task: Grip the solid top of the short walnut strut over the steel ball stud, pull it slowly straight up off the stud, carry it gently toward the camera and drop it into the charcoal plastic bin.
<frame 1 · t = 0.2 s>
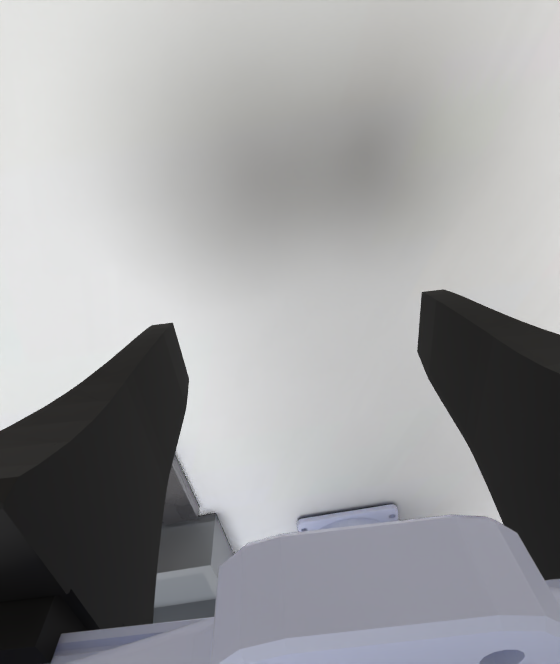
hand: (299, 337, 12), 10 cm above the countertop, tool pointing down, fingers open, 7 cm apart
stud plate: (111, 475, 29), on the countertop
charcoal bin: (166, 566, 35), on the countertop
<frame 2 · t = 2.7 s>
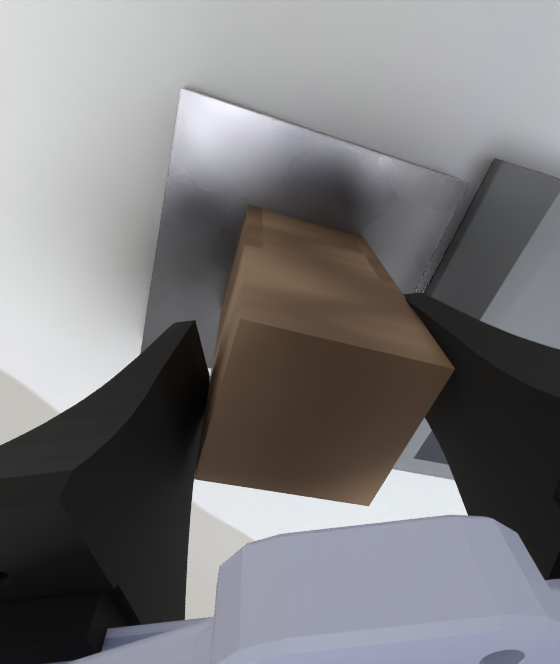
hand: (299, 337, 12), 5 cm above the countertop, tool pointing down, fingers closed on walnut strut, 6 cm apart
walnut strut: (289, 276, 16), point 1 cm above the countertop, touching gripper, stud plate
stud plate: (287, 266, 17), on the countertop
charcoal bin: (536, 332, 19), on the countertop
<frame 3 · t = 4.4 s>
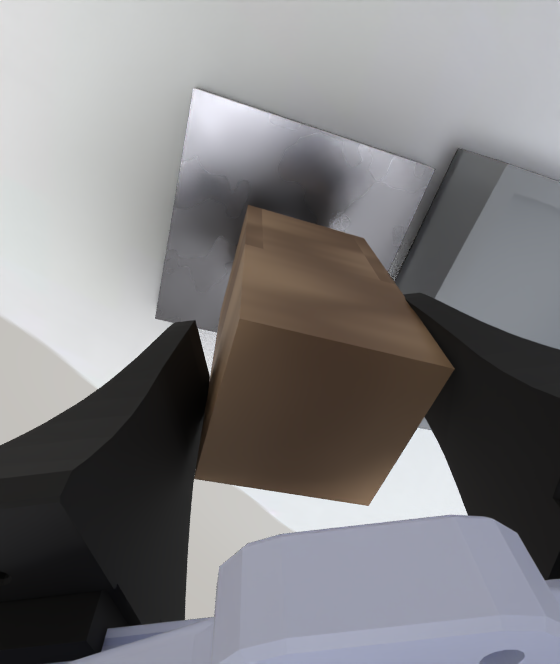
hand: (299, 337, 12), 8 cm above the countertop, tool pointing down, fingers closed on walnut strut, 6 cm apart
walnut strut: (289, 276, 16), point 4 cm above the countertop, touching gripper
stud plate: (282, 242, 19), on the countertop
charcoal bin: (501, 302, 21), on the countertop
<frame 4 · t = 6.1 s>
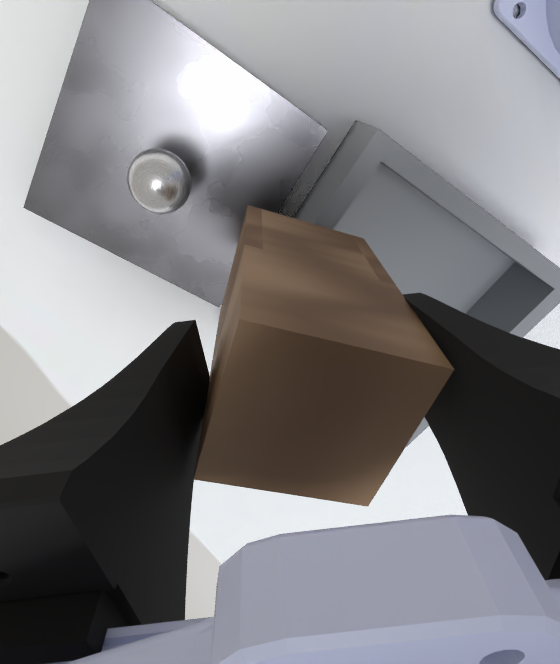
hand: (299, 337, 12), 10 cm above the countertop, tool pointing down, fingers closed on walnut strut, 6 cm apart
walnut strut: (289, 276, 16), point 6 cm above the countertop, touching gripper
stud plate: (175, 166, 19), on the countertop
charcoal bin: (374, 287, 23), on the countertop
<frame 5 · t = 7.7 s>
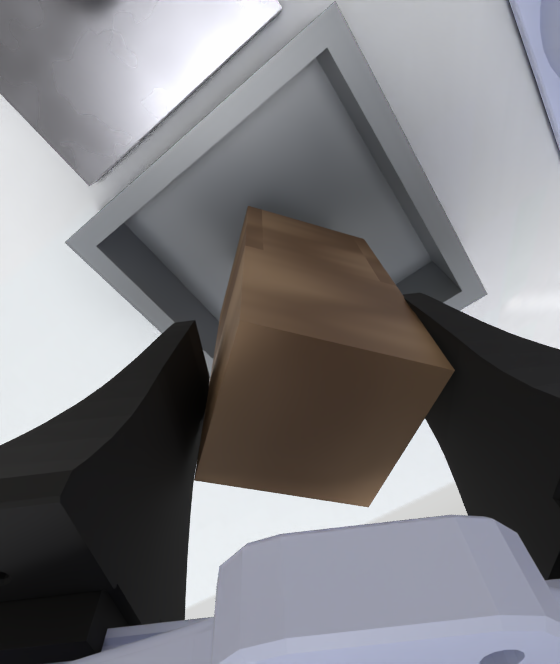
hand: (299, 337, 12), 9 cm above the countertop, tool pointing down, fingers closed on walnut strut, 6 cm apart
walnut strut: (289, 277, 16), point 5 cm above the countertop, touching gripper
charcoal bin: (283, 237, 20), on the countertop
when the fingers open (5 cm above the countertop, at t = 9.4 s): walnut strut stays where it is, resting on charcoal bin.
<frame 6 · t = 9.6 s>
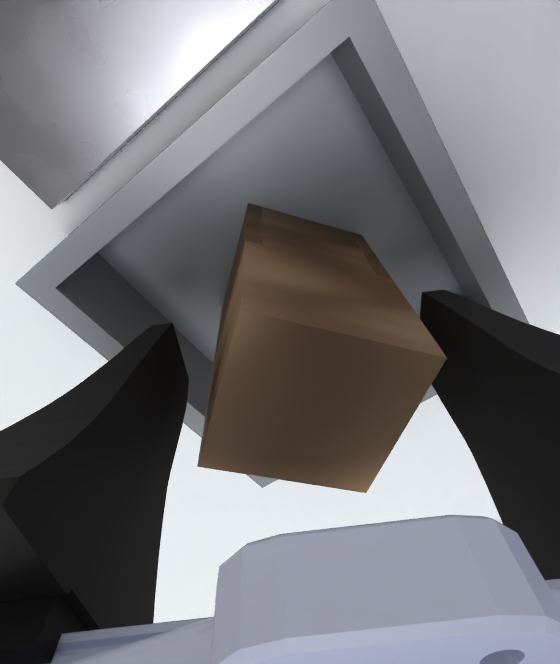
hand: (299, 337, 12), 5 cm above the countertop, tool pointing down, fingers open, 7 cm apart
walnut strut: (289, 273, 16), point 1 cm above the countertop, touching charcoal bin
charcoal bin: (287, 266, 17), on the countertop
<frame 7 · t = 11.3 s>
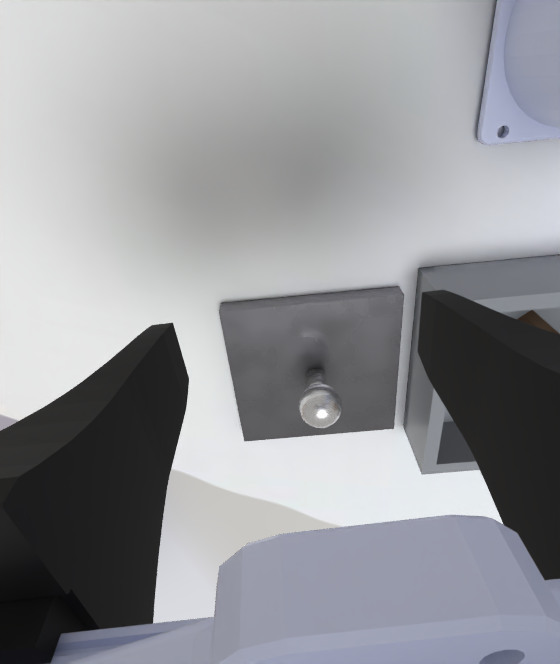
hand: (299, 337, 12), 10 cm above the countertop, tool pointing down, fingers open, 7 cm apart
walnut strut: (513, 354, 25), point 1 cm above the countertop, touching charcoal bin
stud plate: (313, 366, 26), on the countertop
charcoal bin: (507, 348, 25), on the countertop
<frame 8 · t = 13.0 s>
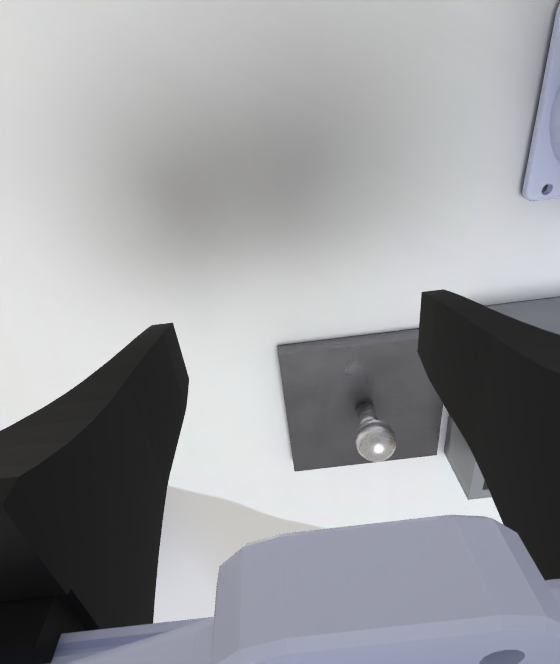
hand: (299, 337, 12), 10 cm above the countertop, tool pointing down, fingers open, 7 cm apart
stud plate: (361, 399, 27), on the countertop
charcoal bin: (544, 377, 27), on the countertop
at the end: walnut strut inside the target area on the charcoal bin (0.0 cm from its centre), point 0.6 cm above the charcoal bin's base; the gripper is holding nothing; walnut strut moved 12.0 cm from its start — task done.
